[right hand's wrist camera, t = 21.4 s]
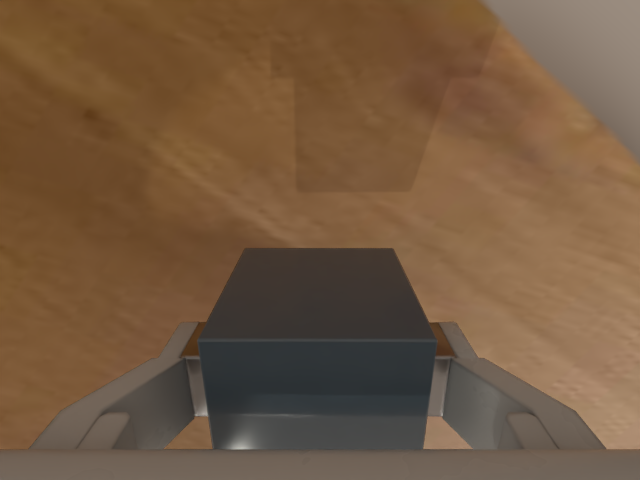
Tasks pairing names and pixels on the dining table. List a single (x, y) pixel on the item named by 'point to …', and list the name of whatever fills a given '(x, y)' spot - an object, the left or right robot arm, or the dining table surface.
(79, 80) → the dining table surface
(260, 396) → the blue-gray cube
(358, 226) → the dining table surface
